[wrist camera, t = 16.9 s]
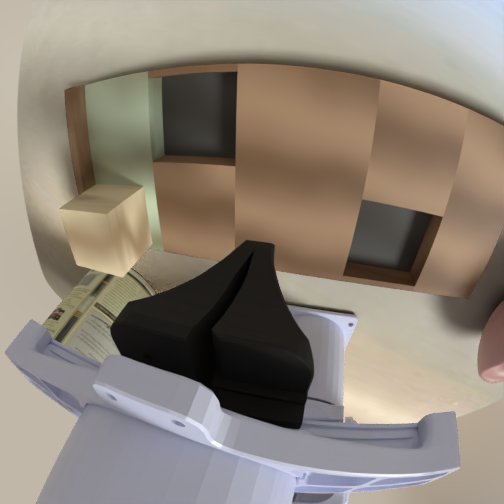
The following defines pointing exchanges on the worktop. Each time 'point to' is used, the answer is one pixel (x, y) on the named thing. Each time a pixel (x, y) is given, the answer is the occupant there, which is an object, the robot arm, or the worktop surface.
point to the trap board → (300, 170)
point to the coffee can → (95, 312)
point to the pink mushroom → (492, 348)
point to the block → (108, 227)
